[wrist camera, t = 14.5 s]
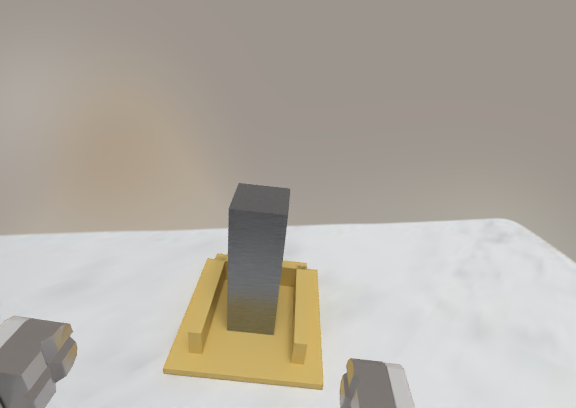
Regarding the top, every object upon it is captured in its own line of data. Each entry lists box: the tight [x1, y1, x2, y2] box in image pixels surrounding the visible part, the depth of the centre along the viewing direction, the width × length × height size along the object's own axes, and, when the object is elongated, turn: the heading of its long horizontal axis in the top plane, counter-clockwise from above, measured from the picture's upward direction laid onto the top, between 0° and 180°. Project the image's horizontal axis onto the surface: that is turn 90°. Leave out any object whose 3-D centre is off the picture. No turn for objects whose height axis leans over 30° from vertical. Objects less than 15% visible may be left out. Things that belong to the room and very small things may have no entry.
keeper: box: [163, 254, 323, 390], centre depth 28 cm, size 12×13×9 cm
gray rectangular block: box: [227, 183, 290, 335], centre depth 27 cm, size 4×4×12 cm
